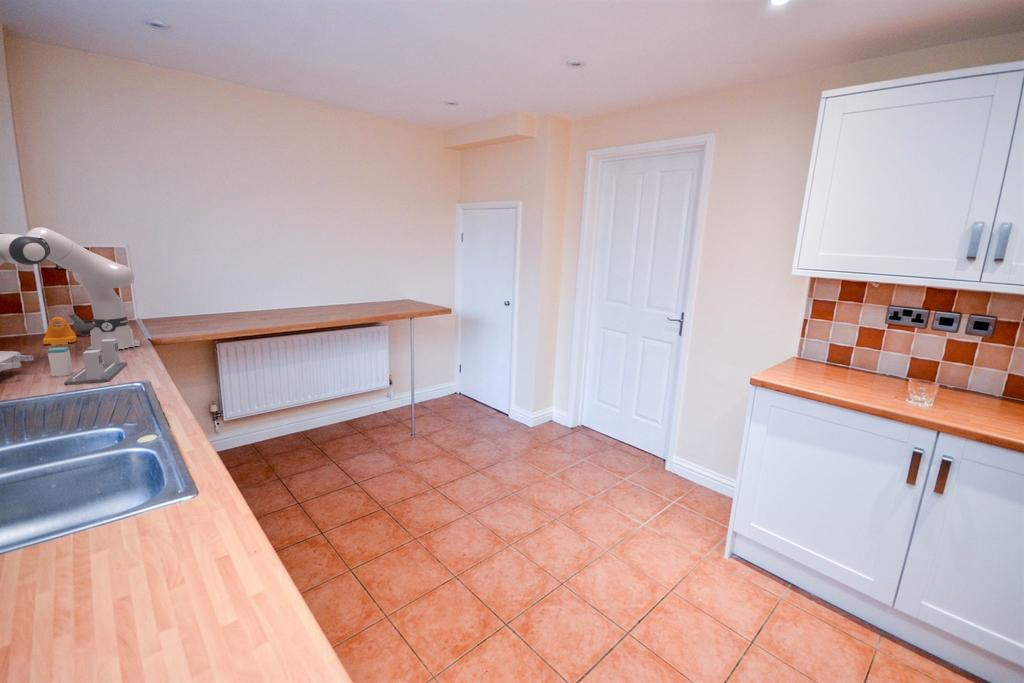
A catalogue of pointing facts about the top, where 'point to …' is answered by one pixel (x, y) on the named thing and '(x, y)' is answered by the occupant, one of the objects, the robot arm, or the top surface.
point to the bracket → (59, 333)
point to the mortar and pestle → (82, 325)
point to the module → (60, 361)
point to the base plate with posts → (99, 364)
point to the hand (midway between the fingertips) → (26, 361)
